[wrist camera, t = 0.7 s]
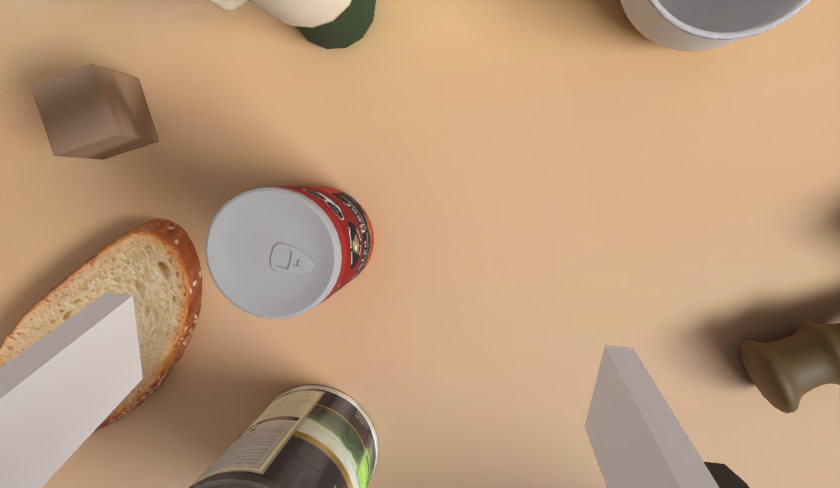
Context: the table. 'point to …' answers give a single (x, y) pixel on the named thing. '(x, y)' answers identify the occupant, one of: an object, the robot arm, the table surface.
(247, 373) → the table surface
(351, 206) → the canned food
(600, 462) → the robot arm
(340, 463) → the coffee can
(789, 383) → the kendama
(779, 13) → the teacup
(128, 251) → the slice of bread
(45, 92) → the metal block
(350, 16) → the character mug
